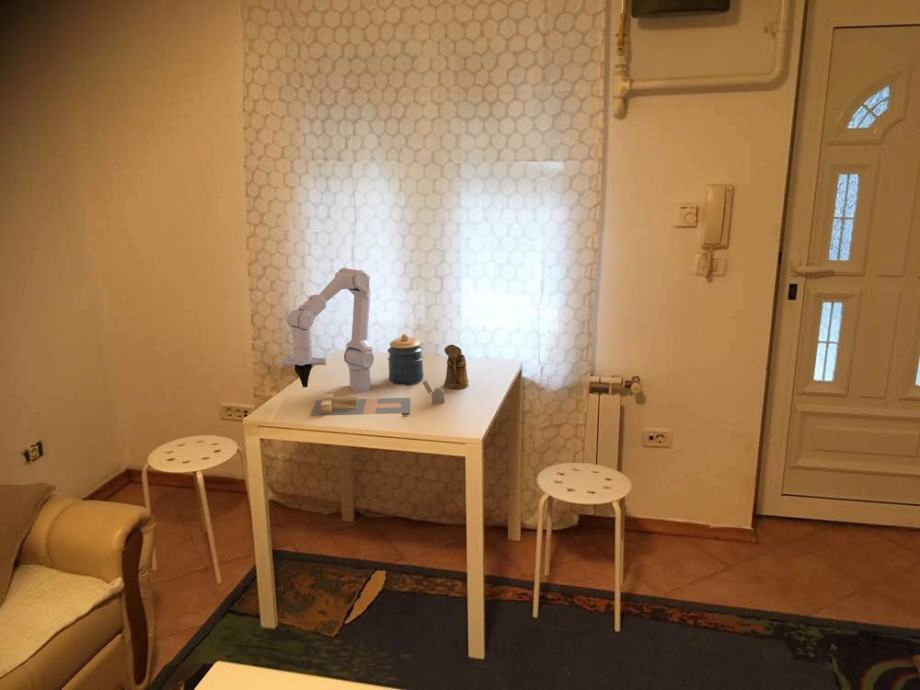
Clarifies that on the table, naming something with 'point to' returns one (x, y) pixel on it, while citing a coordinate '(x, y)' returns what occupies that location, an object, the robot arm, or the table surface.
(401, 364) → the canister
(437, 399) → the lighter
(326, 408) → the t block
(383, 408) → the slate board
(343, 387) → the table surface
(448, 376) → the bronze figurine
